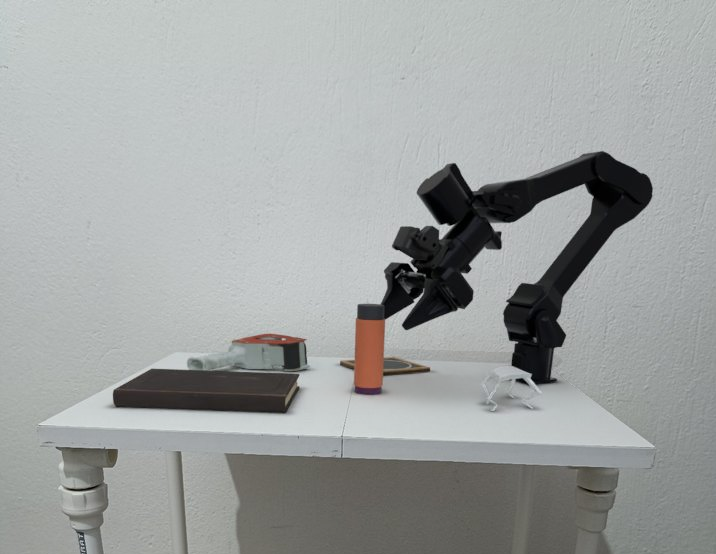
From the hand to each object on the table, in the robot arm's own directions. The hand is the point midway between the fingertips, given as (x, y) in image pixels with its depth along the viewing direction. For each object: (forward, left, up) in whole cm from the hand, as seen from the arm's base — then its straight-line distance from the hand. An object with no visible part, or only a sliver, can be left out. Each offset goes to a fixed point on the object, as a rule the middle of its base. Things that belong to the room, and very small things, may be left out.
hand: (389, 324), depth 100 cm
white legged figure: (-12, +15, -10) cm, 21 cm away
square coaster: (-10, -16, -10) cm, 22 cm away
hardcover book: (+26, -6, -10) cm, 29 cm away
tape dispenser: (+12, -25, -10) cm, 30 cm away
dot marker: (+3, 0, -10) cm, 11 cm away
